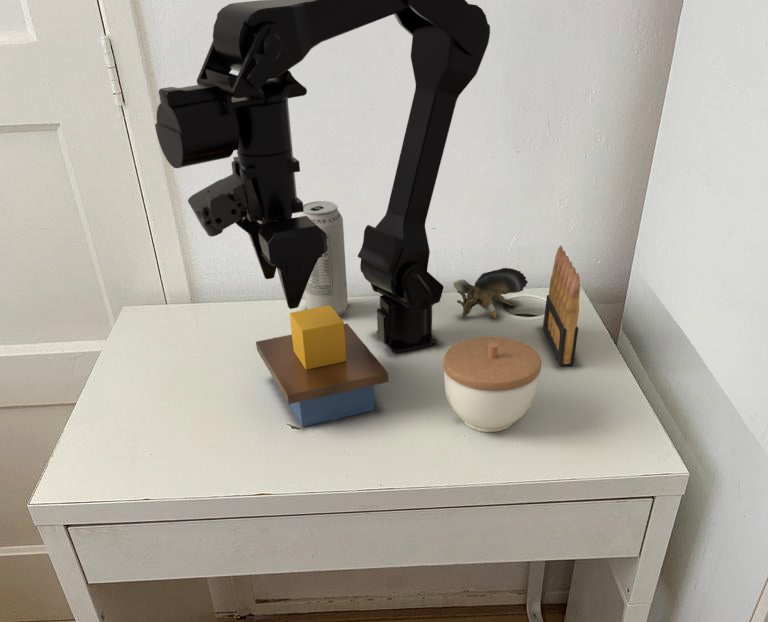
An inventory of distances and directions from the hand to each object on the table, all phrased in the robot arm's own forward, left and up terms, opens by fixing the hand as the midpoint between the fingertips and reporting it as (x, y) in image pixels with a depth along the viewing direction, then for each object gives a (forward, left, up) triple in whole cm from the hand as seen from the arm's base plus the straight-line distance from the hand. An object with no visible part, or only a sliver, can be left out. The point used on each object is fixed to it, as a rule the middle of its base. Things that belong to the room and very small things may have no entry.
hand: (281, 292), depth 91 cm
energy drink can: (-11, -18, -12) cm, 24 cm away
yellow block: (-3, +4, -7) cm, 9 cm away
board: (-3, +4, -8) cm, 10 cm away
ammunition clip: (-35, +5, -12) cm, 38 cm away
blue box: (-3, +4, -12) cm, 13 cm away
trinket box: (-19, +17, -12) cm, 28 cm away
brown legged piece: (-32, -8, -12) cm, 35 cm away
